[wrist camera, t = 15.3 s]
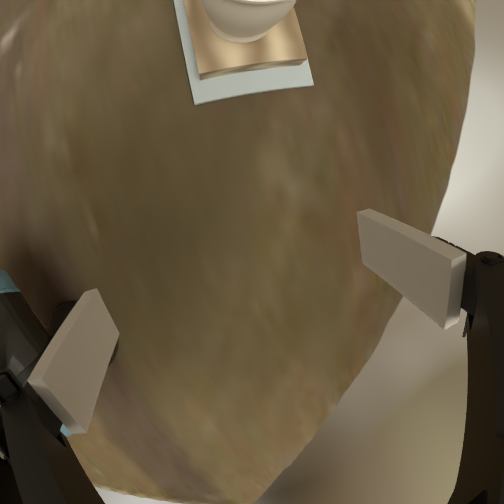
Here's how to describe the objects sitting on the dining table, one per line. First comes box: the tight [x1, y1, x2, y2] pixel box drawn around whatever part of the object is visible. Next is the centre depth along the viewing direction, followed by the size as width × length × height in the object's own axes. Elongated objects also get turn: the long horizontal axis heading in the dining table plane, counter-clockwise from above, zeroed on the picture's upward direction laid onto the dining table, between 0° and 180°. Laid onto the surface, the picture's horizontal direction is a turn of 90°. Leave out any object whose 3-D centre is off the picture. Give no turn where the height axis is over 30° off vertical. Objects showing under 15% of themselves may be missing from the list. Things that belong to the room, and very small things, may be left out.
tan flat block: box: [184, 0, 308, 80], centre depth 33 cm, size 15×15×4 cm
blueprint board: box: [174, 0, 314, 106], centre depth 35 cm, size 18×22×1 cm
